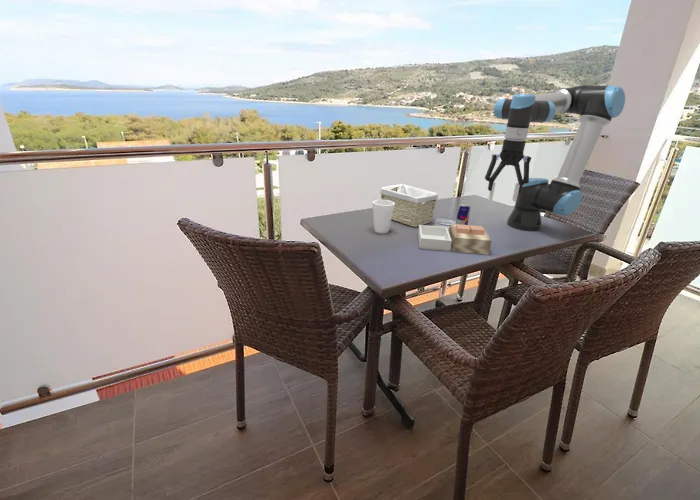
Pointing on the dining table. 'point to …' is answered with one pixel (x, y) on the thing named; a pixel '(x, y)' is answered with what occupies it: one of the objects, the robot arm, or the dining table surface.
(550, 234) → the dining table surface
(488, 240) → the tan wooden block
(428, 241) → the box
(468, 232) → the tile
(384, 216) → the foam cup
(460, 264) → the dining table surface
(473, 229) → the tile
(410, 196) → the storage basket
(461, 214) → the energy drink
